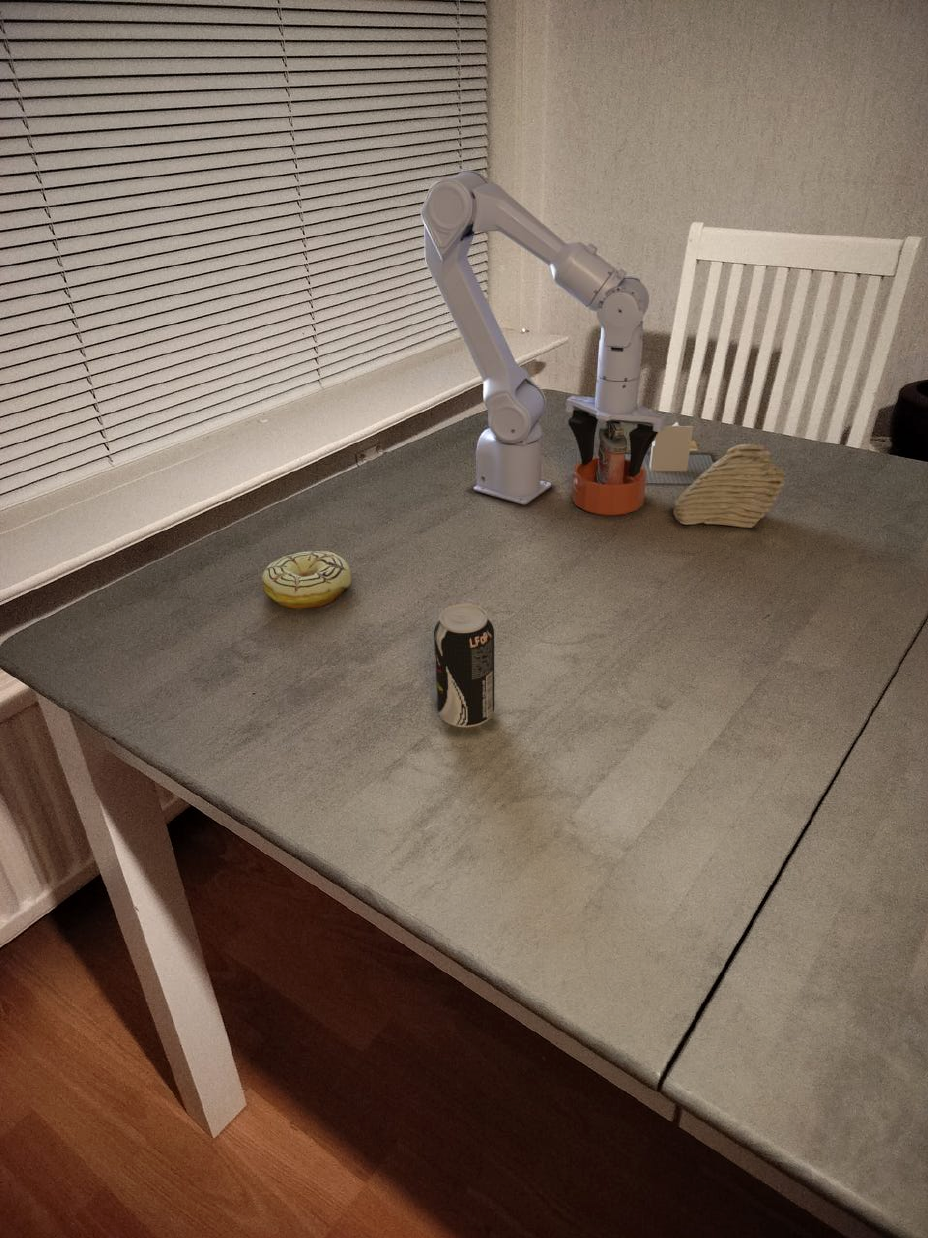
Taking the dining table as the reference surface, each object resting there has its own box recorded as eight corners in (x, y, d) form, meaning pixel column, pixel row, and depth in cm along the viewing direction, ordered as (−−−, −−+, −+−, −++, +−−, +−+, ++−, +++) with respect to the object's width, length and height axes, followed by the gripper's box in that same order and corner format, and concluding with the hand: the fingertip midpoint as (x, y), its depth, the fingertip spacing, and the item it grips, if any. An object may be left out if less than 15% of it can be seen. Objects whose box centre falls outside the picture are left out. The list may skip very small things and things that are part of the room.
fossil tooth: (670, 516, 121) (776, 509, 119) (676, 535, 116) (787, 527, 114) (672, 441, 115) (783, 432, 113) (678, 457, 110) (795, 448, 108)
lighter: (592, 474, 124) (596, 410, 119) (614, 472, 125) (619, 408, 119) (604, 497, 118) (609, 430, 112) (627, 495, 118) (633, 429, 112)
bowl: (559, 506, 122) (561, 475, 119) (593, 481, 129) (595, 451, 126) (623, 524, 117) (626, 492, 114) (654, 497, 124) (658, 466, 121)
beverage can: (439, 695, 86) (434, 599, 79) (494, 695, 86) (494, 599, 79) (436, 732, 81) (431, 633, 75) (494, 733, 81) (494, 633, 74)
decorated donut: (368, 591, 103) (365, 565, 101) (295, 625, 98) (290, 598, 95) (322, 561, 110) (318, 536, 108) (250, 590, 104) (245, 565, 102)
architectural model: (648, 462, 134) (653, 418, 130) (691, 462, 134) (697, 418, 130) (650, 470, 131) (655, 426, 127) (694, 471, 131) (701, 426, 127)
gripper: (556, 374, 113) (553, 466, 121) (654, 392, 106) (644, 489, 113) (582, 360, 118) (576, 450, 125) (677, 377, 110) (665, 471, 118)
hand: (610, 468), depth 120 cm, fingers open, 7 cm apart
